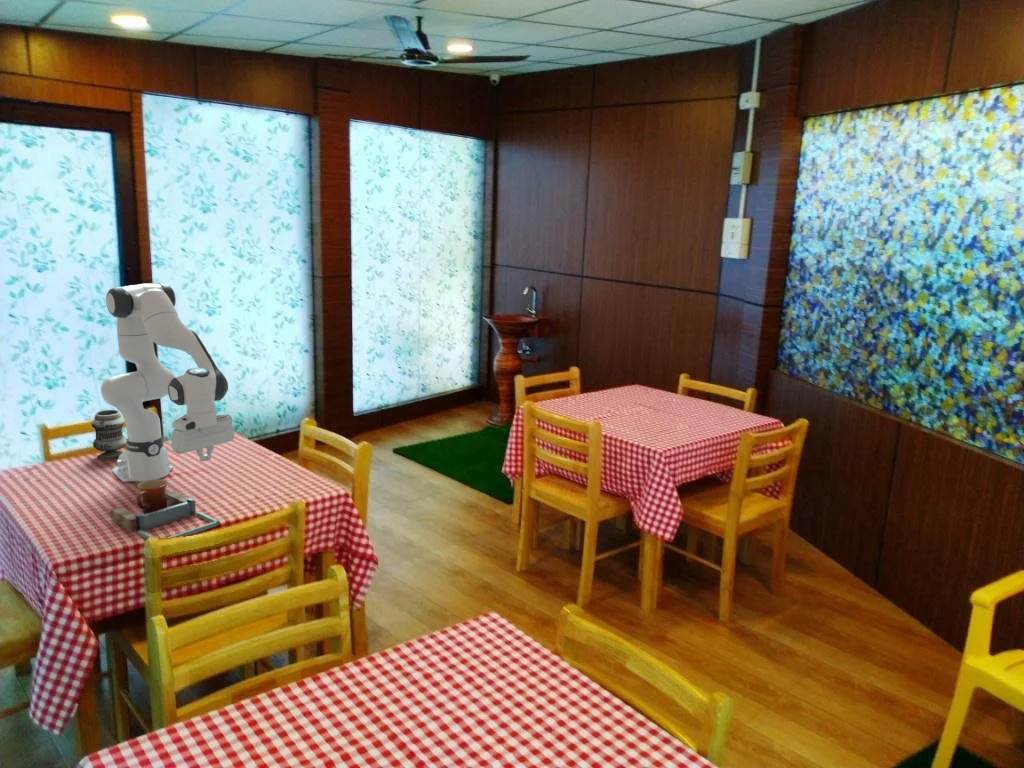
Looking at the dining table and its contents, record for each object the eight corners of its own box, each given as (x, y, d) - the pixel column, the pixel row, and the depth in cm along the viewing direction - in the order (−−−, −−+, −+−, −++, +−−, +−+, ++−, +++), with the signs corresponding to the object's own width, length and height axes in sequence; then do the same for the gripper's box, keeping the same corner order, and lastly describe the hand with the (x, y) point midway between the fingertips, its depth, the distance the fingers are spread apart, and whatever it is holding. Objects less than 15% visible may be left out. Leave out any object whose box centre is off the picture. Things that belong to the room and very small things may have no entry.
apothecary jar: (105, 463, 301) (100, 418, 297) (88, 457, 308) (82, 412, 303) (135, 455, 311) (130, 411, 307) (117, 449, 317) (113, 406, 313)
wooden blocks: (111, 521, 248) (110, 509, 247) (174, 502, 264) (173, 491, 263) (132, 532, 240) (130, 520, 240) (195, 512, 257) (194, 500, 256)
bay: (138, 534, 239) (138, 530, 239) (199, 514, 254) (199, 511, 254) (158, 545, 232) (158, 541, 232) (220, 524, 247) (220, 521, 247)
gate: (137, 530, 241) (135, 514, 240) (191, 513, 255) (190, 498, 254) (140, 532, 240) (139, 516, 239) (195, 514, 254) (194, 499, 253)
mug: (151, 507, 260) (149, 478, 258) (175, 509, 258) (173, 480, 256) (127, 521, 248) (124, 490, 246) (152, 524, 247) (149, 493, 244)
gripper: (225, 411, 262) (228, 450, 265) (166, 423, 246) (170, 465, 249) (236, 414, 258) (239, 454, 261) (177, 427, 242) (181, 470, 245)
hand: (205, 460), depth 255 cm, fingers closed
